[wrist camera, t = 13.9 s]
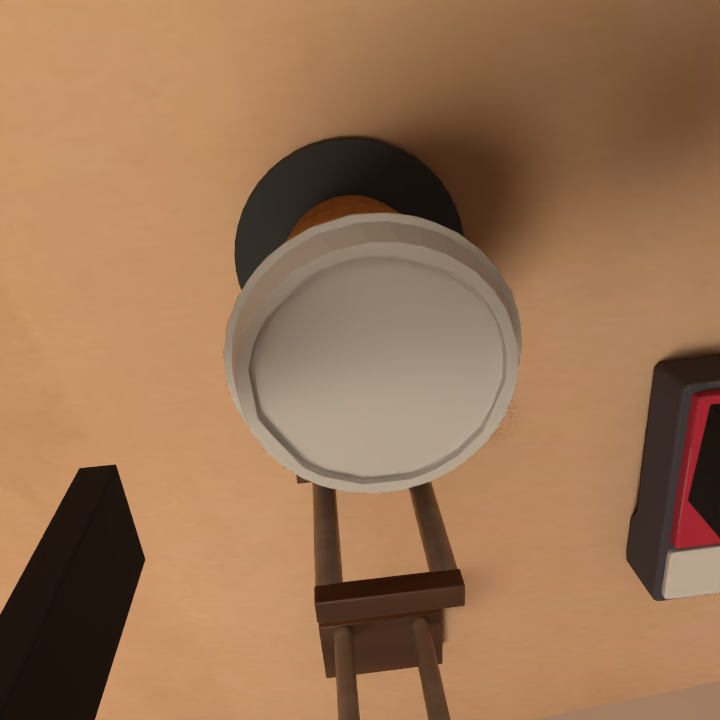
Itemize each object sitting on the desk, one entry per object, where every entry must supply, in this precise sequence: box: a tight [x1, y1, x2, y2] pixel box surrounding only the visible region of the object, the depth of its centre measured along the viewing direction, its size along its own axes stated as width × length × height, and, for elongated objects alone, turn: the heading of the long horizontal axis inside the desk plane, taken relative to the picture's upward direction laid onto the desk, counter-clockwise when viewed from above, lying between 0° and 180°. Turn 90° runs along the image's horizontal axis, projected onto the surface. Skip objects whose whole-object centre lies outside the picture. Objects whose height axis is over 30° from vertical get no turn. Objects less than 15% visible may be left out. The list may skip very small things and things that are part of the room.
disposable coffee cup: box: [224, 195, 522, 493], centre depth 24 cm, size 10×10×12 cm
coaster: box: [235, 137, 464, 290], centre depth 29 cm, size 11×11×1 cm
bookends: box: [296, 475, 465, 720], centre depth 33 cm, size 22×8×11 cm, turn 4°
